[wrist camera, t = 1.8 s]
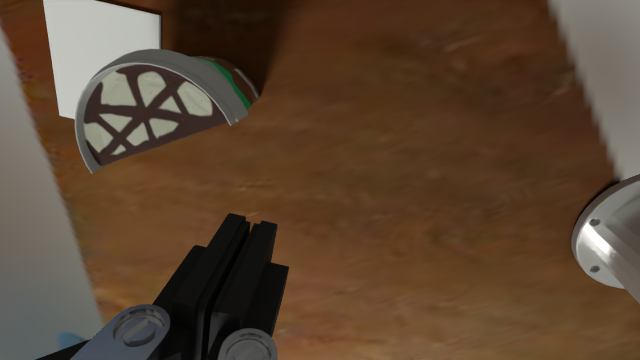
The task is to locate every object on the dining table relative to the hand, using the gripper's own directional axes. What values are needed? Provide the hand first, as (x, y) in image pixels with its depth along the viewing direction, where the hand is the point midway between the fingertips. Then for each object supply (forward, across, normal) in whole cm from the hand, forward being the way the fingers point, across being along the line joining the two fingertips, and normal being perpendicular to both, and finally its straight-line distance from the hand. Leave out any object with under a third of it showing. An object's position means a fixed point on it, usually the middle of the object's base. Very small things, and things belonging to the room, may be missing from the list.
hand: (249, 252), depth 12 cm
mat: (+21, +19, +1) cm, 28 cm away
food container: (+21, +11, 0) cm, 23 cm away
